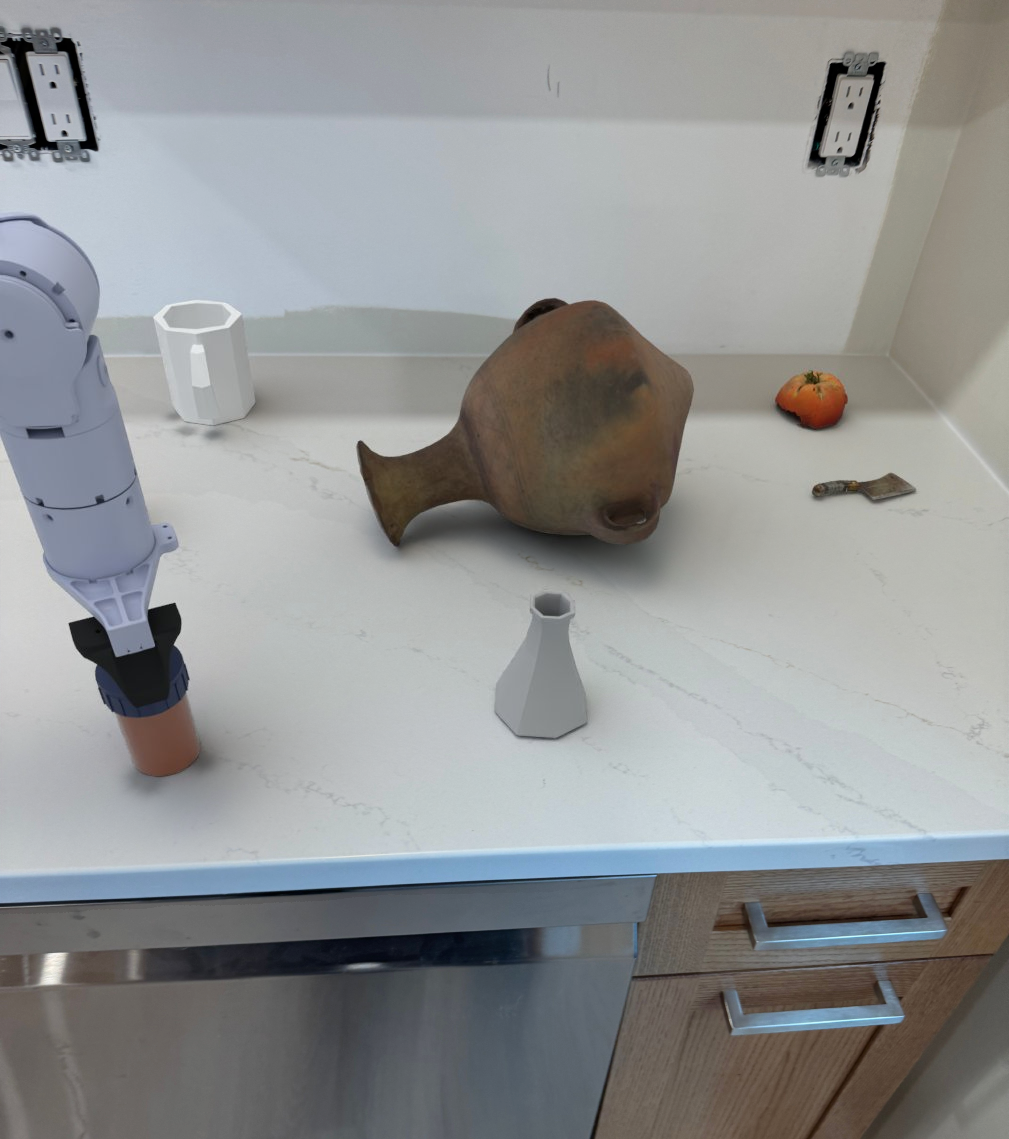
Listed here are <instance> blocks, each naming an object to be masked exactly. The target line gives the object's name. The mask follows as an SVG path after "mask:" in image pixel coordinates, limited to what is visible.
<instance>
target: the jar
mask: <svg viewBox="0 0 1009 1139" xmlns="http://www.w3.org/2000/svg"><path fill="white" fill-rule="evenodd" d="M113 713H114V715H115V719H116V721H117V724H118V727H119V730H120V732H121V735H122V738H123V740H124V743H125V746H126V749H127V751H128V754H129V756H130V760H131V762H132V764H133V766H134V767H135V768H136V770H138V771H139V772H140V773H143V774H144V775H147V776H151V777H167V776H171V775H175V774H177V773H180V772H182V771H184V770H186V769H187V768H189V767H190V766H191V765H192V764H193V763H194V762H195V761H196V759H197V758H198V757H199V755H200V751H201V744H202V743H201V740H200V736H199V732H198V729H197V725H196V721H195V718H194V714H193V710H192V707H191V704H190V700H189V697H188V691H186V693H185V695H184V697H183V698H182V700H181V701H179V702H178V703H177V704H176V705H175V706H173V707H172V708H170V709H169V710H167V711H164V712H162V713H160V714H157V715H154V716H149V717H142V718H131V717H124V716H121V715H118V714H116V713H115V712H113Z"/></svg>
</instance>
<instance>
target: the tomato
mask: <svg viewBox="0 0 1009 1139" xmlns="http://www.w3.org/2000/svg"><path fill="white" fill-rule="evenodd" d="M815 368H816V367H815ZM844 386H845V385H843V384H842V382H841V380H840V379H839V378H837V377H836V376H835V375H833V374H831V373H826V372H823V371H814V370H813V369H809V370H808V371H805V372H802V373H800V374H795V375H794V376H792V377H791V378H790V379H789V380H788V381H787V382H786V383H784V385H782V386H781V387H780V389H779V391H778V392H777V394H776V396H775V400H774V402H775V403H777V404H778V407H780V408H781V410H784V411H785V412H788V411H789V412H790V413H796V416H797V417H799V418H800V423H799V424H796V426H799V427H807V426H809V427H811V428H813V429H814V430H815V429H821V428H824V427H829V426H834V425H837V423H838V422H839V421H840V420H841V419H842V417H843V415H844V411H845V407H846V405H847V404H848V402H849V399H848V398H849V397H848V394H847V393H846V390H845V387H844Z"/></svg>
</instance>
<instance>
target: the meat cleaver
mask: <svg viewBox="0 0 1009 1139" xmlns="http://www.w3.org/2000/svg"><path fill="white" fill-rule="evenodd" d="M858 491H860V492H862V493H863V494H865V495H866V496H867V497H868V498H870V499H871V500H879V499H884V498H890V497H895V496H900V495H903V494H908V493H912V492H915V491H917V488H916V487H915V486H914V485H912V484H911V483H910V482H908V481H906V480H905V479H903V478H902V477H901V476H899V475H897V474H895V473H893V472H888V473H886V474H885V475H883V476H881V477H879V478H876V479H872V480H866V481H857V480H851V479H850V480H848V479H845V480H844V479H842V480H841V479H838V480H829V481H825V482H821V483H820V482H819V483H817V484H815V485H814V486H813V487H812V490H811V495H812V496H814V497H816V498H820V497H825V496H826V495H832V494H841V493H845V494H846V493H856V492H858Z"/></svg>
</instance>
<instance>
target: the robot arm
mask: <svg viewBox="0 0 1009 1139" xmlns="http://www.w3.org/2000/svg"><path fill="white" fill-rule="evenodd" d="M100 297H101V289H100V282H99V278H98V274H97V271H96V269H95V267H94V265H93V263H92V262H91V260H90V258H89V256H88V255H87V254H86V252H85V251H84V250H83V249H82V247H81V246H79V244H78V243H77V242H76V241H75V240H73V239H72V238H71V236H69V235H67V234H66V233H64V232H63V231H62V230H60V229H58V228H56V227H54V226H53V225H50V224H48V223H47V222H46V221H45V220H44V219H42V217H40V216H38V215H36V214H34V213H29V212H22V211H21V212H19V211H11V212H10V211H9V212H2V213H0V439H1V442H2V445H3V446H4V449H5V452H6V455H7V458H8V460H9V463H10V465H11V469H12V471H13V474H14V476H15V478H16V482H17V485H18V487H19V489H20V492H21V495H22V498H23V500H24V503H25V505H26V508H27V511H28V513H29V516H30V520H31V522H32V524H33V527H34V530H35V532H36V535H37V537H38V541H39V543H40V545H41V548H42V551H43V554H42V562H43V564H44V567H45V569H46V570H45V571H46V573H47V574H48V576H49V577H50V579H51V580H52V581H54V582H55V584H57V585H58V586H59V587H60V588H61V589H62V590H64V592H66V593H67V595H69V596H70V597H71V598H72V599H74V601H76V602H77V604H79V605H80V606H81V607H82V608H84V609H85V611H87V612H88V613H89V614H90V615H92V616H90V617H86V618H81V619H78V620H75V621H70V622H68V628H69V632H70V636H71V639H72V640H71V641H72V643H73V645H74V648H75V649H76V650H77V652H78V653H79V654H80V655H81V656H82V658H84V659H85V660H87V661H89V662H92V663H93V664H95V665H96V666H97V665H98V666H100V667H101V668H102V669H103V670H105V671H106V672H107V673H108V674H109V675H110V676H111V678H112V679H113V680H114V682H115V683H116V684H117V686H118V687H119V689H120V690H121V692H122V693H123V694H124V696H125V697H126V698H127V700H128V701H129V702H130V703H131V704H132V705H133V706H134V707H135V708H139V707H143V706H146V705H150V704H153V703H156V702H160V701H163V700H167V699H168V698H169V693H170V659H171V653H172V649H173V646H174V645H175V643H176V642H177V639H178V638H179V636H180V635H181V633H182V626H183V625H182V623H183V622H182V616H181V613H180V610H179V609H178V606H177V603H176V602H171V603H167V604H163V605H160V606H155V607H151V608H149V606H150V602H151V597H152V594H153V590H154V586H155V580H156V578H157V572H158V568H159V565H160V560H161V557H162V556H163V555H164V554H167V553H172V552H173V551H176V550H178V548H179V547H180V543H179V539H178V535H177V533H176V531H175V529H174V527H173V525H172V524H171V523H167V522H161V523H157V524H151V519H150V515H149V511H148V508H147V503H146V500H145V496H144V493H143V490H142V486H141V482H140V478H139V474H138V470H137V467H136V463H135V459H134V455H133V452H132V448H131V444H130V441H129V436H128V434H127V429H126V425H125V421H124V418H123V414H122V411H121V407H120V403H119V400H118V395H117V392H116V390H115V387H114V385H113V383H112V381H111V378H110V375H109V371H108V367H107V364H106V360H105V355H104V352H103V349H102V345H101V341H100V337H98V336H97V335H95V334H92V330H93V328H94V325H95V322H96V319H97V316H98V312H99V309H100Z"/></svg>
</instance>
